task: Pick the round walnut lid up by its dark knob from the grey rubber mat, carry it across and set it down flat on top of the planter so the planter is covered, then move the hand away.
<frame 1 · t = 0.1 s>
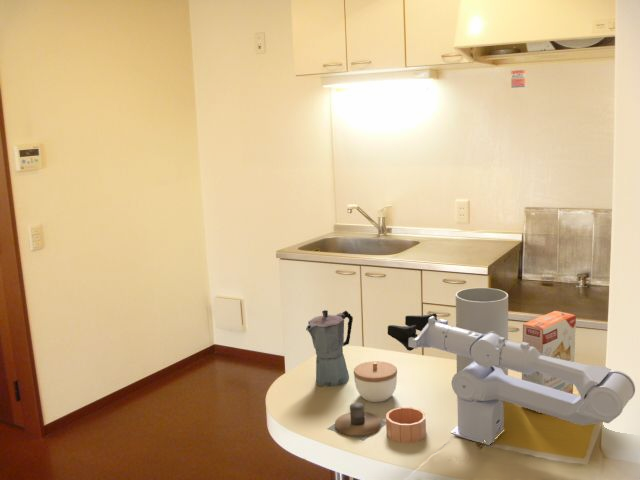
hand: (397, 324, 155), 22 cm above the countertop, tool horizontal, fingers open, 7 cm apart
cylinder vase: (482, 390, 168), on the countertop
cracker box: (548, 402, 160), on the countertop
planter: (406, 434, 148), on the countertop
moka pot: (333, 381, 179), on the countertop
mat: (358, 427, 153), on the countertop
lid: (357, 425, 153), resting on mat
lidded jar: (376, 399, 167), on the countertop
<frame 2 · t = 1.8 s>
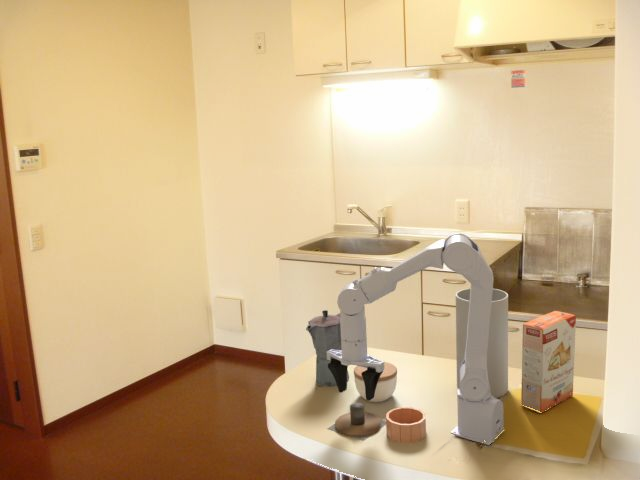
hand: (356, 394, 151), 8 cm above the countertop, tool pointing down, fingers open, 7 cm apart
nothing on the countertop moved.
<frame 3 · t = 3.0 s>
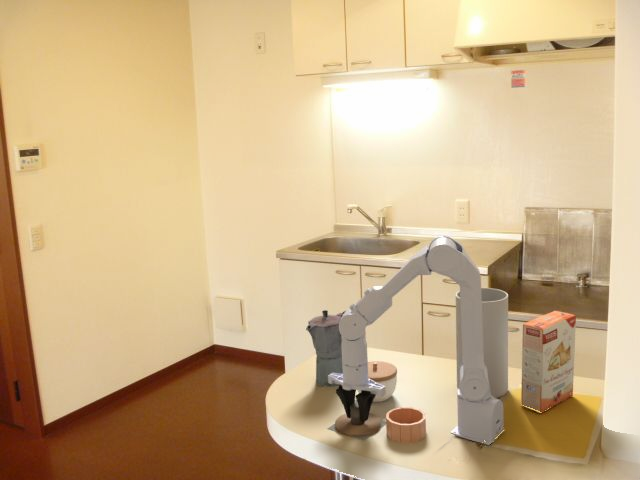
hand: (357, 418, 152), 2 cm above the countertop, tool pointing down, fingers closed on lid, 3 cm apart
lid: (357, 425, 153), resting on mat, touching gripper
everything else where it was.
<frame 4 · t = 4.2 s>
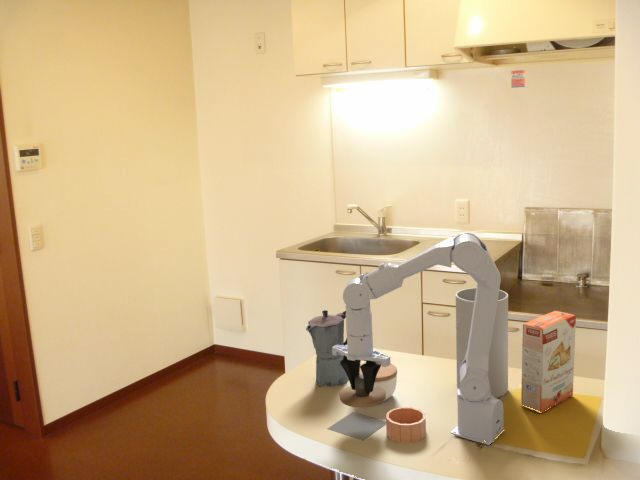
hand: (362, 390, 150), 9 cm above the countertop, tool pointing down, fingers closed on lid, 3 cm apart
lid: (362, 397, 151), point 8 cm above the countertop, touching gripper
everything else where it was.
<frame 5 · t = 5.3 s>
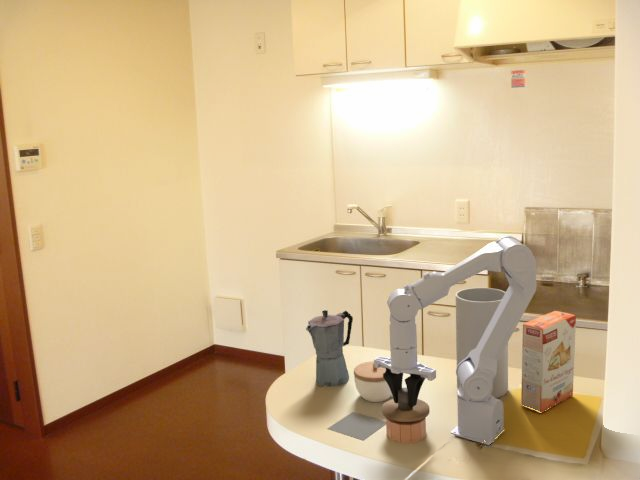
hand: (405, 403, 147), 7 cm above the countertop, tool pointing down, fingers closed on lid, 3 cm apart
lid: (405, 411, 147), point 6 cm above the countertop, touching gripper
everything else where it was.
when the fingers open (7 cm above the countertop, at t = 5.8 s): lid drops 1 cm, resting on planter.
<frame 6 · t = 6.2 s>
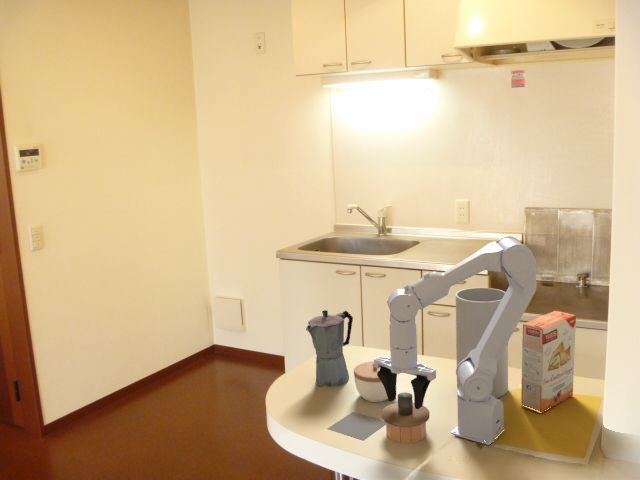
hand: (405, 403, 147), 7 cm above the countertop, tool pointing down, fingers open, 6 cm apart
planter: (406, 434, 148), on the countertop, touching lid
lid: (405, 415, 147), point 4 cm above the countertop, touching planter
everything else where it was.
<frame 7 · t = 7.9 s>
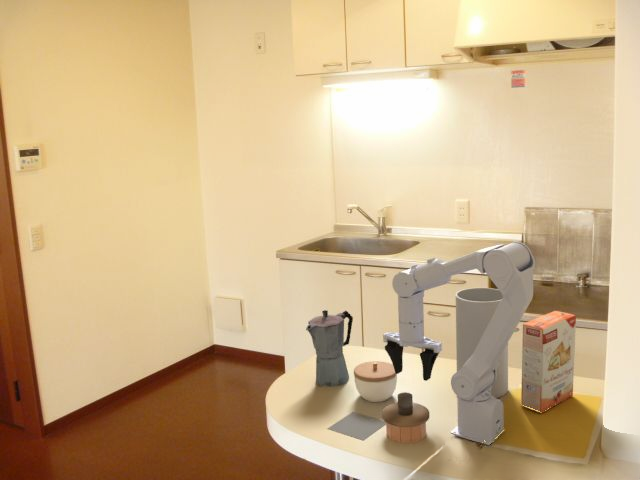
hand: (412, 375, 156), 9 cm above the countertop, tool pointing down, fingers open, 7 cm apart
nothing on the countertop moved.
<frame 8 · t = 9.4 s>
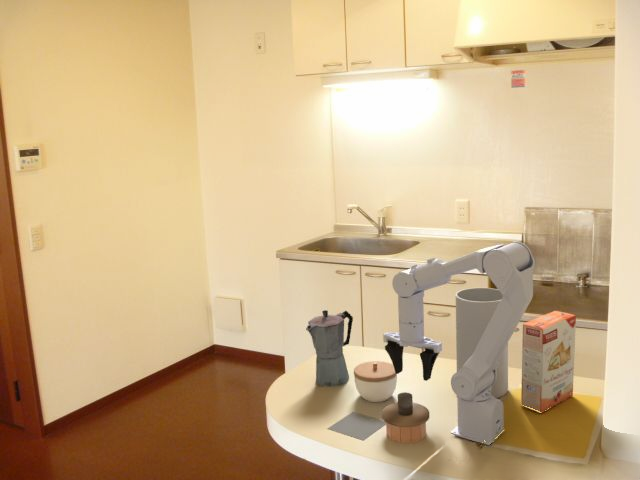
hand: (412, 375, 156), 9 cm above the countertop, tool pointing down, fingers open, 7 cm apart
nothing on the countertop moved.
at the end: lid 0.0 cm off-centre on the planter, point 4.5 cm above the planter's base; lid tilted 0°; lid touching planter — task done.
